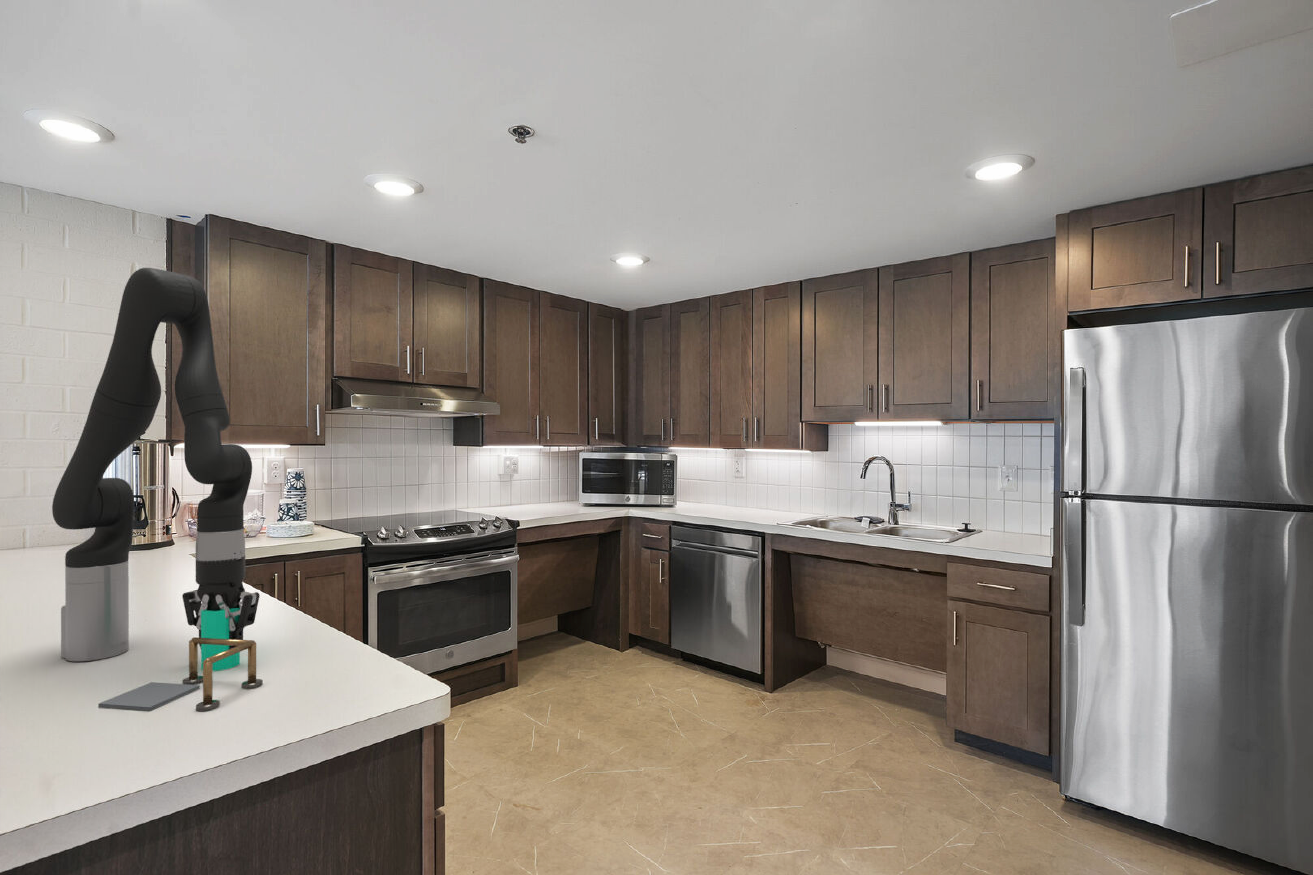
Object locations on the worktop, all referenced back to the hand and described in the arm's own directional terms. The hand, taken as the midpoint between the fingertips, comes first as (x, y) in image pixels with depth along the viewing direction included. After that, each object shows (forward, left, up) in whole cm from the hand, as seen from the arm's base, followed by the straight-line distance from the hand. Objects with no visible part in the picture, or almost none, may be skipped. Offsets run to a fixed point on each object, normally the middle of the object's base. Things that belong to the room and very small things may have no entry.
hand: (221, 649), depth 121 cm
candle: (0, 0, -3) cm, 3 cm away
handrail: (+7, -13, -3) cm, 15 cm away
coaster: (+1, -15, -3) cm, 15 cm away
